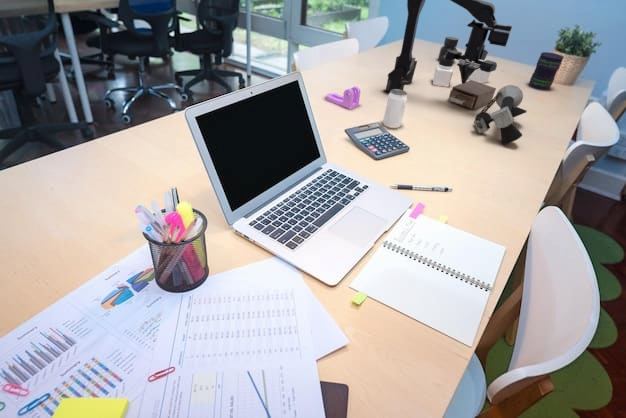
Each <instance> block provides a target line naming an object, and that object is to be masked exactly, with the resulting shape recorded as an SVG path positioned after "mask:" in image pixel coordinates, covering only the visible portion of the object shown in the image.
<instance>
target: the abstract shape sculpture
mask: <svg viewBox="0 0 626 418" xmlns="http://www.w3.org/2000/svg"><path fill="white" fill-rule="evenodd" d="M523 100H524V94H523V91H522V89H521V88H520V87H519V86H517V85H514V84H509V85H504V86H503V87H501V88H499V90H498V91H497V92H496V94H495V95H494V96H493V98H492V100H491V102H490V103H488V104H486V105H485V106H483V107H484V108H482V109H481V111H480V112H479V113H477V114H476V115H475V118H474V120H473V124H474V126H475V128H476V130H477V133H478V134H482V133H485V132H487V131H489V130H490V128H491V126H490V124H491V123H492V122H494V123H495V126H496V128H497V130H500V131H499V132H500V141H501V144H502V145H508V144H510V143H514V142H515V141H517V140H519V139H520V138H522V136H523V133H522V132H521V131H520V130H519V129H518V128H517V127H516V126H515V125H514V124H513V123H514V119H515V118H516V117H518V116H522V115H523V114H526V113H527V110H526V109H523V108H521V107H519V106H520V105H521V103H522V101H523ZM495 103H496V105H497V106H498V107H499V109H497V110H495V111H493V112H492V114H490V113H488V110H489V109H490V108H492V106H493V105H494V104H495Z"/></svg>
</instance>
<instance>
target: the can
mask: <svg viewBox="0 0 626 418" xmlns="http://www.w3.org/2000/svg"><path fill="white" fill-rule="evenodd" d="M407 94H408V92H407V91H405V90H404V89H403V90H399V89H393V90H391V91H390V93H388V96H387V98H386V99H387V100H386V105H385V110H384V115H383V120H382V124H383V126H385V127H386V128H389V129H399V128H400V127H401V126H402V123H403V118H404V114H405V109H406V106H407V101H408V95H407Z"/></svg>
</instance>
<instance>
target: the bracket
mask: <svg viewBox="0 0 626 418" xmlns="http://www.w3.org/2000/svg"><path fill="white" fill-rule="evenodd" d="M360 97H361V89H360V87H359V86H357V85H356V86H353V87H351V88H347V89H345V90H344V91H343V95H341V94H338V93H336V92H335V93H334V92H331V93H327V94H326V100H327V101H328V102H331V103H334V104H336V105H338V106H341V107H344V108H346V109H349V110H351V109H354V108H356V107H358V106H359V104H360Z"/></svg>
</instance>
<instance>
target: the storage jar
mask: <svg viewBox="0 0 626 418" xmlns="http://www.w3.org/2000/svg"><path fill="white" fill-rule="evenodd" d="M564 58H565V57H564V56H563V55H561V54H559V53H555V52H541V53H540V56H539V57H538V60H537V62H536V67H535V68H534V71H533V73H532V75H531V76H530V79H529V82H528V87H530V88H531V89H535V90H537V91H550V89H551V87H552V85H553V83H554V80H555V77H556V75H557V72H558V71H559V69H560V67H561V65H562V62H563V60H564Z"/></svg>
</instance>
